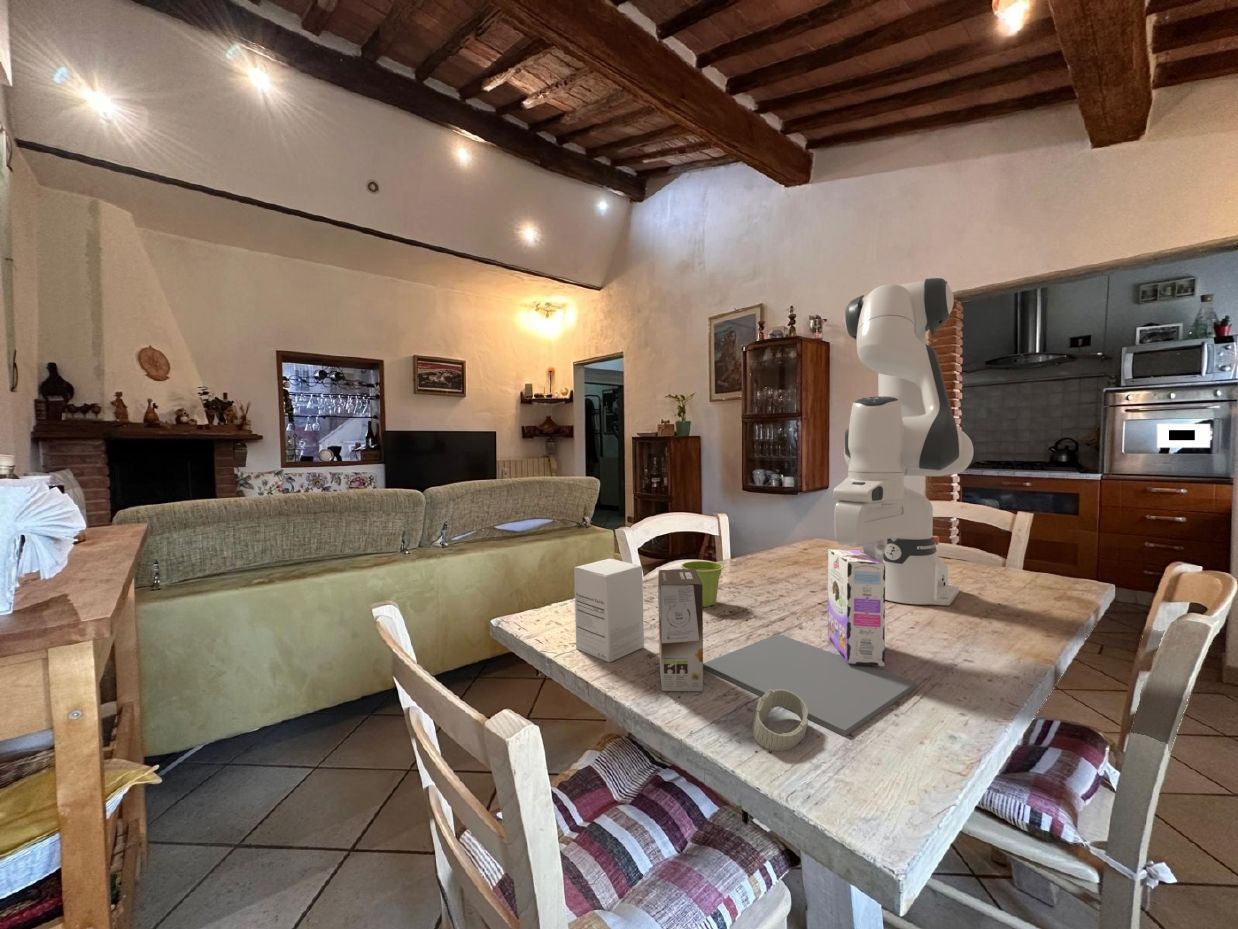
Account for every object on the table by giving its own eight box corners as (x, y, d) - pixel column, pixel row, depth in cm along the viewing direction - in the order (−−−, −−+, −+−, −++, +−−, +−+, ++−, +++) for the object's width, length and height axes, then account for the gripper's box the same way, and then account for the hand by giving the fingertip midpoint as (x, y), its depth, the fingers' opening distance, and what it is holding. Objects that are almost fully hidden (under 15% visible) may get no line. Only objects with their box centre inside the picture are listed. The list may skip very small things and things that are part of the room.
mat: (777, 638, 93) (777, 633, 93) (916, 687, 74) (916, 682, 74) (702, 668, 81) (702, 663, 81) (844, 736, 62) (844, 730, 62)
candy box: (886, 668, 78) (887, 562, 79) (846, 665, 79) (847, 560, 80) (860, 638, 92) (860, 548, 92) (826, 636, 93) (826, 547, 93)
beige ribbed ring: (770, 710, 69) (770, 674, 68) (818, 726, 65) (818, 688, 65) (741, 742, 62) (741, 702, 61) (793, 762, 58) (793, 720, 57)
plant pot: (681, 596, 119) (681, 560, 119) (722, 597, 118) (721, 560, 118) (681, 609, 110) (680, 570, 110) (724, 610, 109) (724, 571, 108)
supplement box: (610, 634, 96) (609, 557, 96) (645, 647, 90) (644, 565, 89) (574, 648, 90) (572, 566, 89) (608, 664, 84) (607, 575, 83)
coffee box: (704, 692, 74) (704, 584, 73) (661, 692, 74) (659, 584, 73) (697, 664, 83) (696, 568, 82) (658, 664, 83) (657, 568, 82)
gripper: (885, 483, 98) (884, 553, 99) (827, 490, 86) (827, 570, 86) (919, 485, 93) (919, 559, 94) (863, 493, 81) (863, 578, 81)
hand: (874, 564), depth 90 cm, fingers closed
